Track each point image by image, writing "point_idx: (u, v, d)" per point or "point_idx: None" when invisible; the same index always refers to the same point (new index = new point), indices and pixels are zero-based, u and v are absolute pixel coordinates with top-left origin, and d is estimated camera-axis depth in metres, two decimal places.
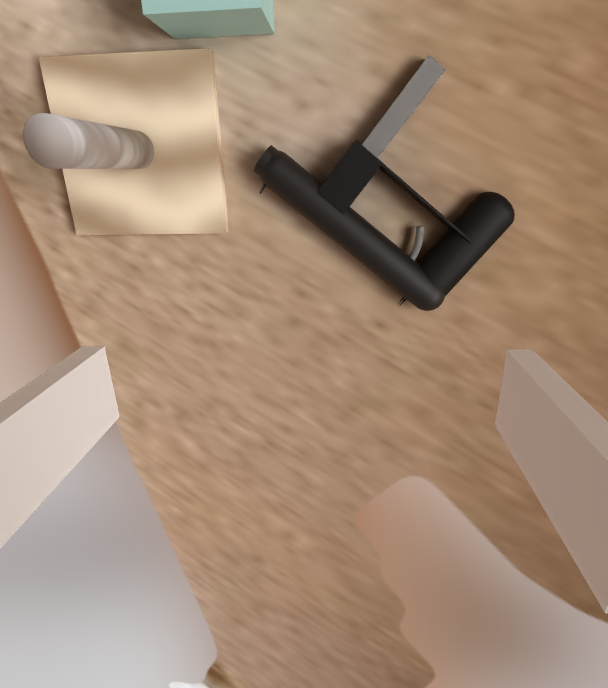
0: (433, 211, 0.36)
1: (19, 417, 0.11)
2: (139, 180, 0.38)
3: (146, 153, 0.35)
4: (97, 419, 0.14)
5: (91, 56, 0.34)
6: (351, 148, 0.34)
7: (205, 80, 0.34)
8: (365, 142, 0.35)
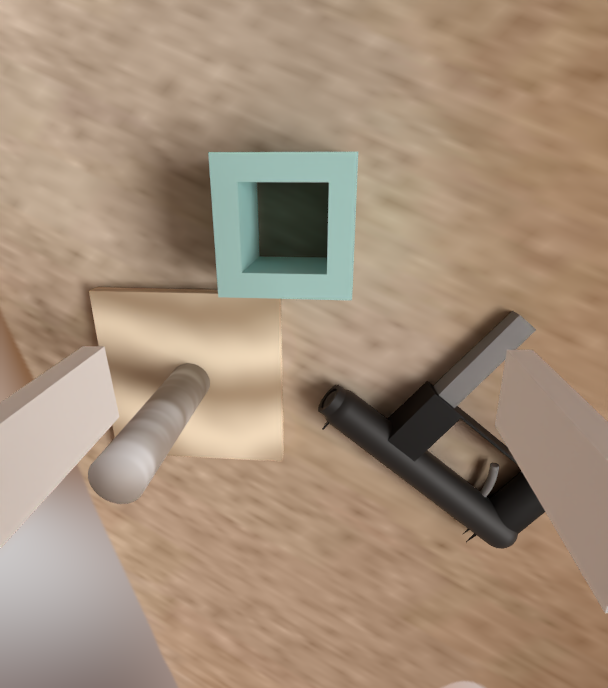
0: None
1: (19, 417, 0.11)
2: None
3: (203, 395, 0.32)
4: (97, 419, 0.14)
5: (148, 294, 0.31)
6: (429, 401, 0.31)
7: (272, 323, 0.32)
8: (443, 392, 0.32)
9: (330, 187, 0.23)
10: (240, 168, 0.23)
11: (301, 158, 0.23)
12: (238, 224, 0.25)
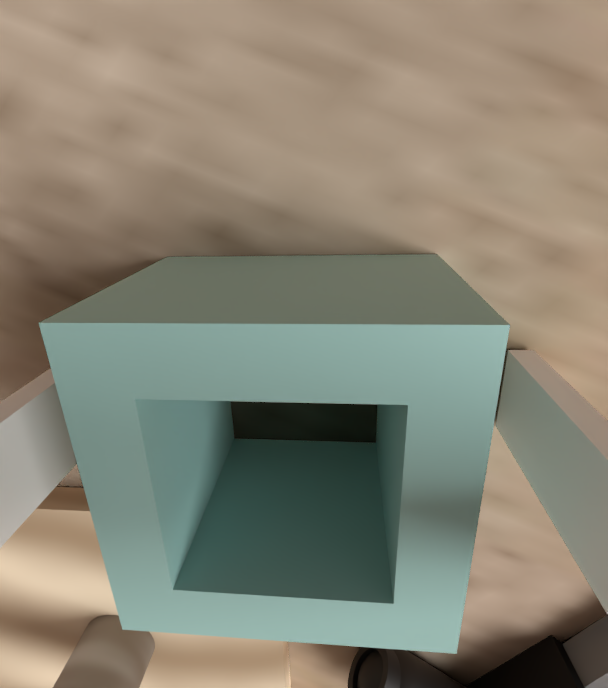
0: None
1: (18, 417, 0.11)
2: None
3: None
4: None
5: None
6: None
7: None
8: (594, 684, 0.16)
9: (412, 418, 0.08)
10: (139, 365, 0.08)
11: (324, 341, 0.07)
12: (151, 493, 0.09)
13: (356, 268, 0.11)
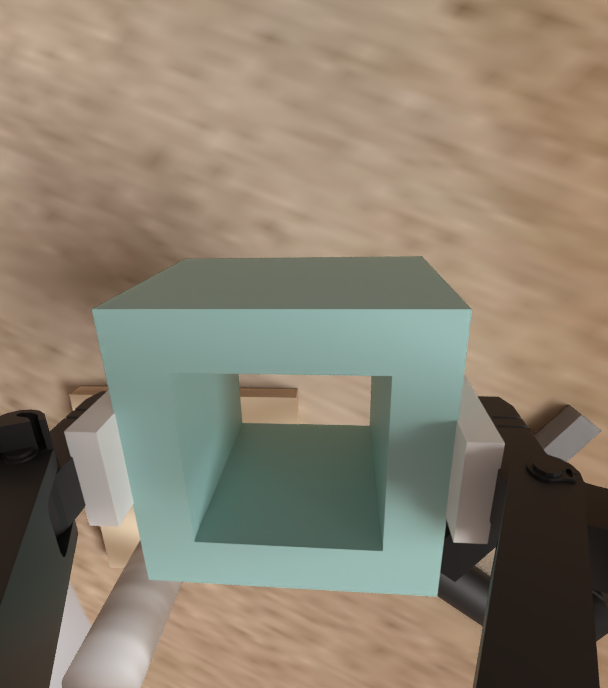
0: None
1: None
2: None
3: None
4: None
5: None
6: None
7: None
8: None
9: (396, 387, 0.09)
10: (173, 344, 0.10)
11: (324, 323, 0.09)
12: (179, 454, 0.11)
13: (351, 268, 0.13)
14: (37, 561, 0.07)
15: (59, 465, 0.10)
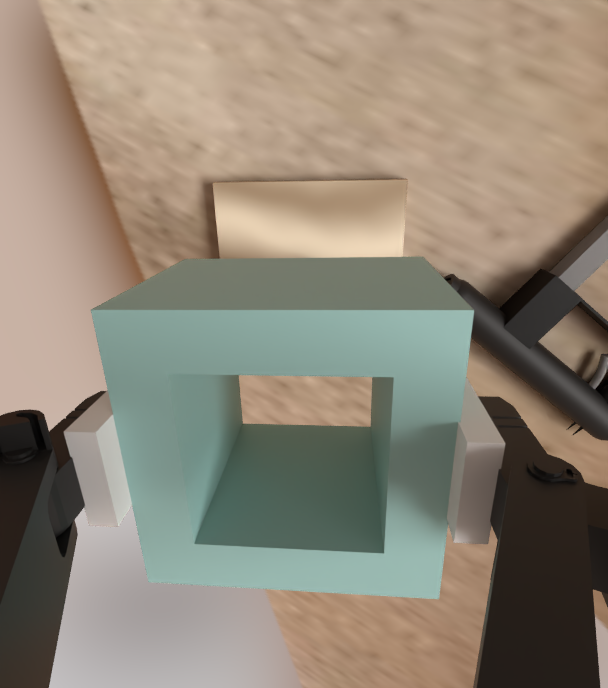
0: None
1: None
2: None
3: None
4: None
5: (272, 184, 0.31)
6: (549, 284, 0.31)
7: (398, 211, 0.31)
8: (562, 275, 0.31)
9: (397, 388, 0.09)
10: (173, 345, 0.09)
11: (325, 324, 0.09)
12: (179, 456, 0.11)
13: (352, 268, 0.13)
14: (36, 561, 0.07)
15: (58, 465, 0.10)
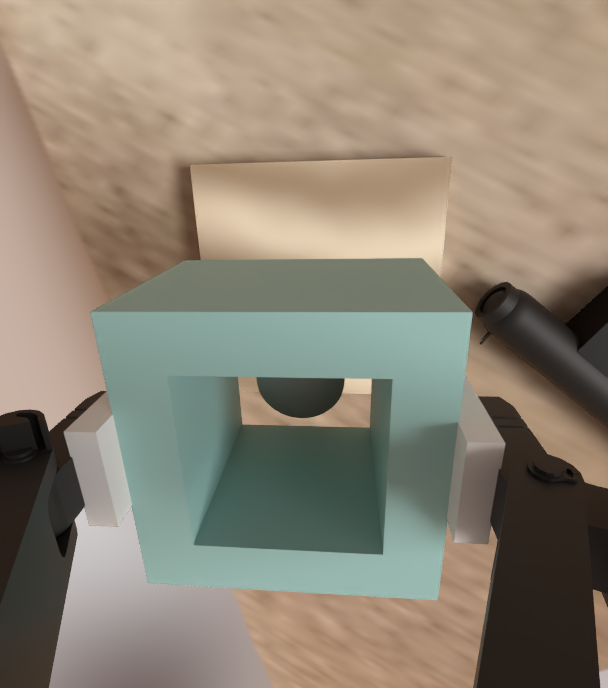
0: None
1: None
2: None
3: None
4: None
5: (269, 165, 0.23)
6: None
7: (438, 200, 0.23)
8: None
9: (396, 390, 0.09)
10: (172, 347, 0.09)
11: (324, 326, 0.09)
12: (178, 458, 0.11)
13: (351, 269, 0.13)
14: (36, 561, 0.07)
15: (58, 465, 0.10)
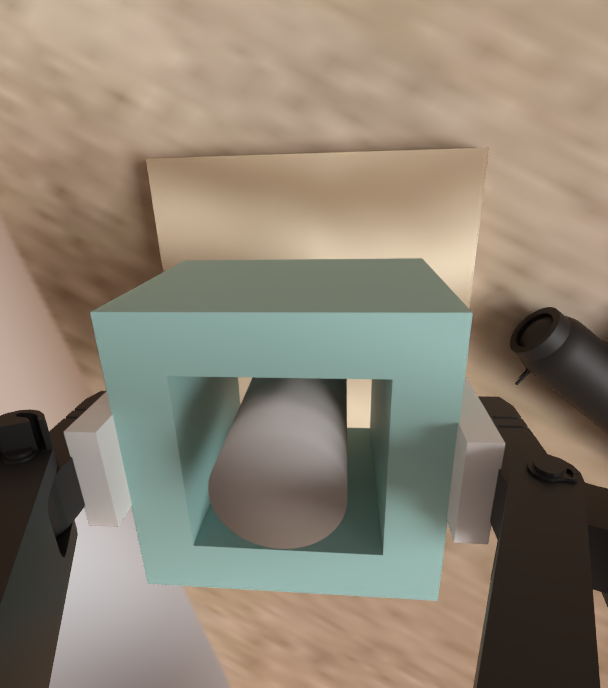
0: None
1: None
2: None
3: None
4: None
5: (249, 159, 0.18)
6: None
7: (469, 205, 0.18)
8: None
9: (396, 390, 0.09)
10: (172, 347, 0.09)
11: (324, 327, 0.09)
12: (178, 458, 0.11)
13: (351, 270, 0.13)
14: (36, 561, 0.07)
15: (58, 465, 0.10)
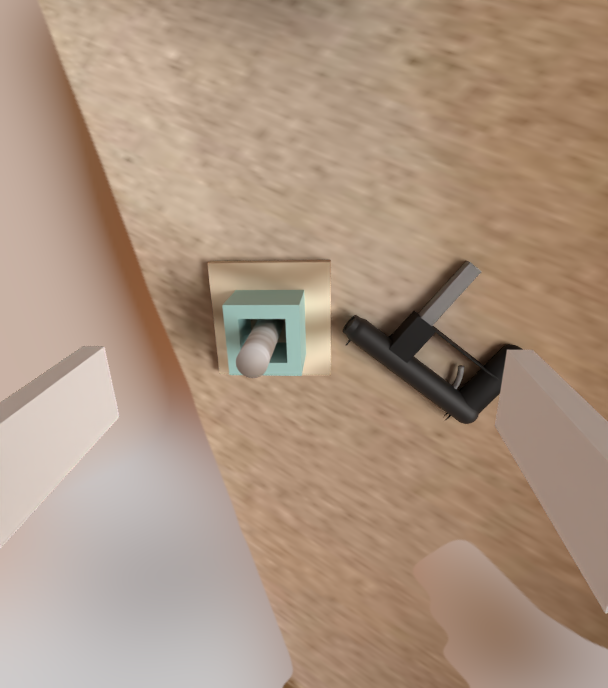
0: (471, 359, 0.50)
1: (19, 417, 0.11)
2: None
3: (281, 329, 0.50)
4: (97, 419, 0.14)
5: (245, 264, 0.49)
6: (414, 321, 0.49)
7: (326, 281, 0.49)
8: (424, 315, 0.49)
9: (286, 321, 0.45)
10: (239, 312, 0.45)
11: (270, 307, 0.45)
12: (239, 338, 0.46)
13: (282, 294, 0.48)
14: None
15: None
